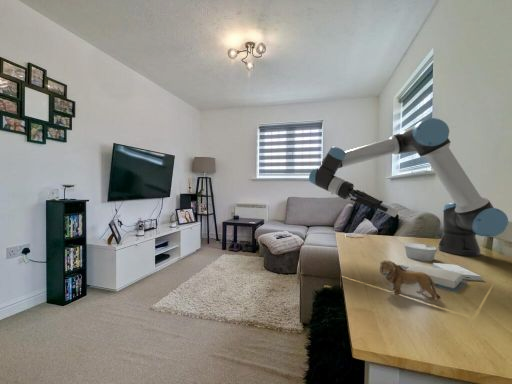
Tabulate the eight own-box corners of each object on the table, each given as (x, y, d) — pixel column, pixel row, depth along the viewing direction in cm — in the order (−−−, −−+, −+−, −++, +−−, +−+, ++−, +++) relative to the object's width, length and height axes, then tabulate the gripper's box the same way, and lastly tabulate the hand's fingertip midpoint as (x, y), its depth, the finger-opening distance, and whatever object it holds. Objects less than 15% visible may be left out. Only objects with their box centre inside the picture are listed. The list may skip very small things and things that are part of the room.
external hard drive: (457, 269, 88) (482, 281, 75) (432, 267, 89) (453, 278, 77) (457, 264, 88) (482, 275, 75) (432, 262, 89) (453, 273, 77)
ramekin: (443, 262, 96) (443, 249, 96) (415, 262, 96) (415, 249, 96) (424, 255, 107) (424, 243, 107) (399, 254, 107) (399, 243, 107)
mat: (398, 266, 90) (398, 264, 90) (468, 282, 75) (468, 281, 75) (382, 274, 82) (382, 272, 82) (457, 294, 66) (457, 293, 66)
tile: (416, 263, 84) (462, 273, 75) (416, 270, 84) (462, 281, 75) (405, 269, 78) (454, 281, 68) (405, 276, 78) (454, 289, 68)
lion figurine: (380, 294, 66) (381, 262, 66) (377, 287, 71) (378, 257, 71) (444, 303, 61) (445, 268, 61) (436, 294, 66) (436, 262, 66)
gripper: (343, 194, 111) (395, 219, 98) (331, 197, 101) (388, 225, 88) (350, 179, 108) (404, 203, 95) (338, 181, 99) (397, 208, 85)
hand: (396, 214), depth 92 cm, fingers closed
